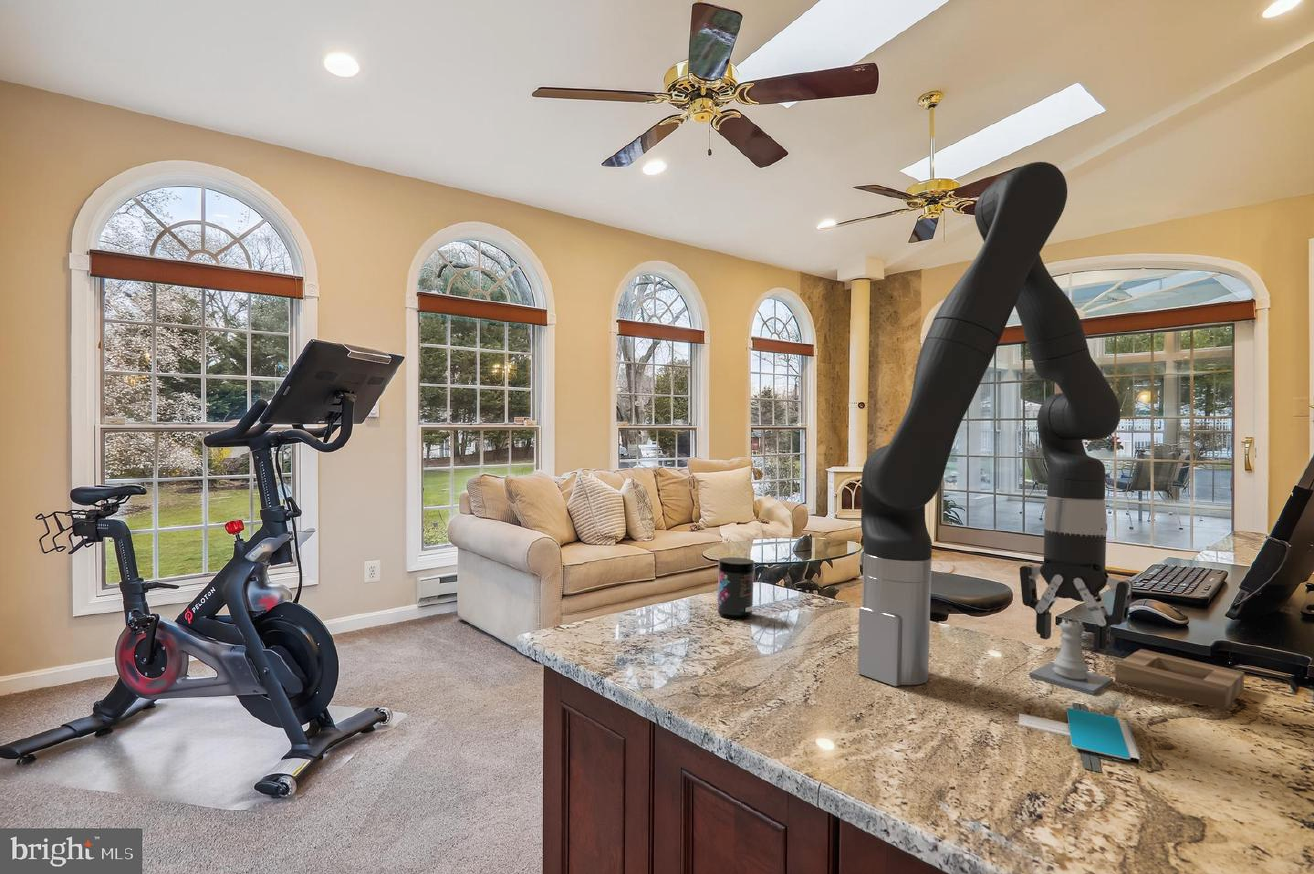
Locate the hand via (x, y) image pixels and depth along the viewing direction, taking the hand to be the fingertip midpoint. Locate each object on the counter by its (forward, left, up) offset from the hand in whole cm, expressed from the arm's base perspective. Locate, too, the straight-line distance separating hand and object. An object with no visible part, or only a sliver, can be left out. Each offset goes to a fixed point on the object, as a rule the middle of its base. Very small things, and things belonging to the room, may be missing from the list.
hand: (1071, 644), depth 92 cm
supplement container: (-17, +51, -5) cm, 54 cm away
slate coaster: (0, 0, -5) cm, 5 cm away
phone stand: (-19, -7, -6) cm, 21 cm away
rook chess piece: (0, 0, -5) cm, 5 cm away
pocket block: (+11, -10, -5) cm, 16 cm away
